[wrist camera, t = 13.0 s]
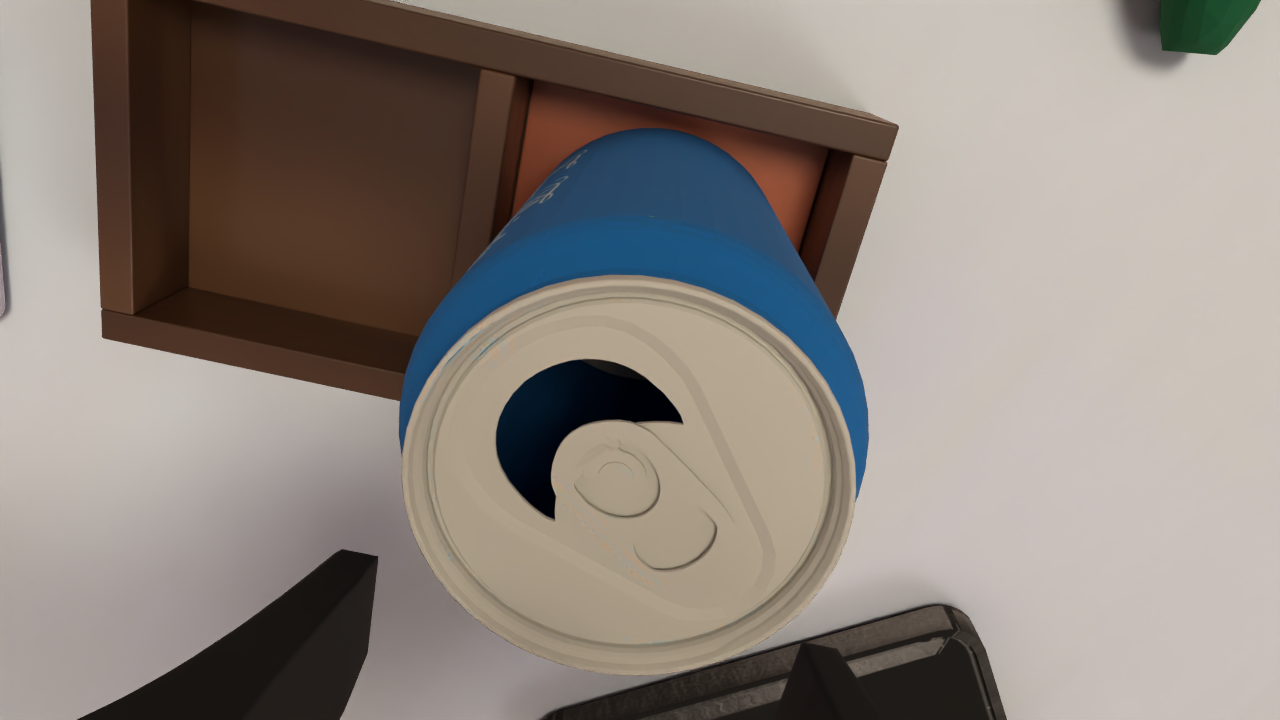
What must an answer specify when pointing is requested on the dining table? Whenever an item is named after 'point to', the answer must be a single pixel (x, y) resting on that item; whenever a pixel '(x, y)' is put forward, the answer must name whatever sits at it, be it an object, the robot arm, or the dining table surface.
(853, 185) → the brown wooden divided tray
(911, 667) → the phone
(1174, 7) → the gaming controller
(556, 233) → the beverage can
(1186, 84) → the dining table surface
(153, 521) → the dining table surface
